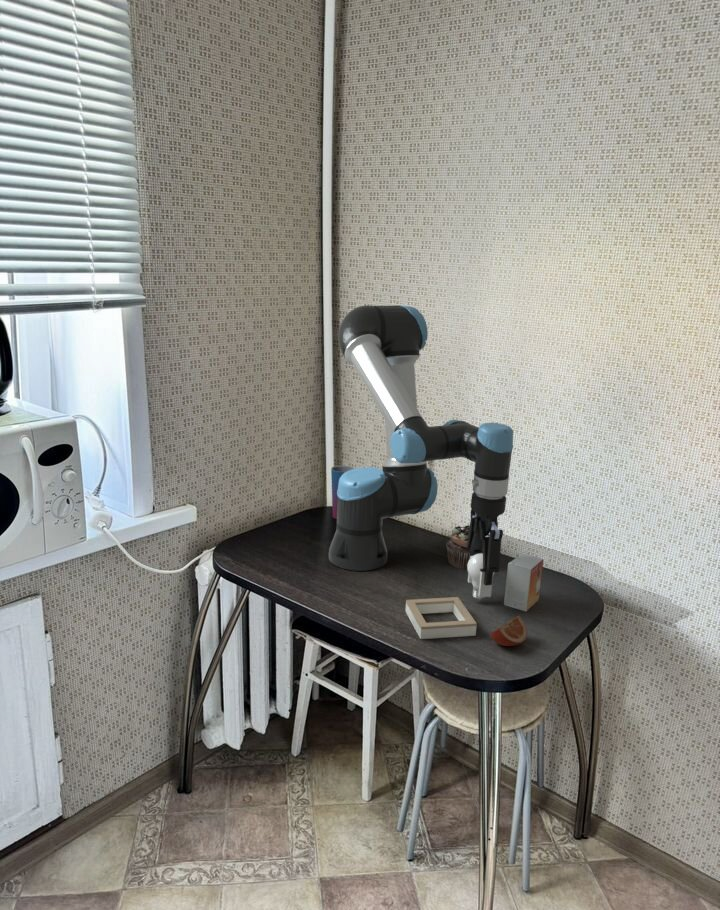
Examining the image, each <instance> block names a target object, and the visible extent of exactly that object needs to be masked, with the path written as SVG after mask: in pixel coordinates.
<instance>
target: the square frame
mask: <svg viewBox="0 0 720 910" xmlns="http://www.w3.org/2000/svg"><path fill="white" fill-rule="evenodd" d="M405 613H406V616H407V617H408V618H409V620H410V622H411V624H412V626H413V628H414V631H416V634H417V635H418V637H419V639H420V640H426V639H428V640H429V639H443V638H457V637H472V636H476V634H477V627H478V626H477V624H478V623H477V622H476V621H475V618H474V617H473V616H472V614H471V613H470V611H468V609H467V608H466V606H465V604H463V602H462V600H461V599H460V598H459V597H458V596H455V597H453V596H451V597H437V598H436V597H435V598H434V597H433V598H432V597H431V598H417V599H415V598H414V599H413V598H412V599H406V600H405ZM439 613H453V614H454V615H453V616H455V617H456V619H457V620H455V621H452V620H451V621H449V620H448V621H436V622H427V621H426V620H425V618H424V617H423V615H424V614H439ZM422 614H423V615H422Z"/></svg>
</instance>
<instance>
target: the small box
mask: <svg viewBox="0 0 720 910" xmlns="http://www.w3.org/2000/svg"><path fill="white" fill-rule="evenodd" d="M544 561H545V560H544V559H543V558H541V557H538V556H534V555H531V554H527V553H523V552H521V553H519V555H518V556H516V557H515V558H513V559H512V560H511V561H509V562H508V564H507V571H506V581H505V589H504V599H503V600H504V601H503V605H504V606H506V607H510V608H513V609H516V610H519V611H523V612H525V613H526V612H527V611H529V609H531V607H532V606H534V605H535V604H536V603H537V602H538V601H539V600H540V592H541V591H540V590H541V586H542V585H541V584H542V576H543V567H544Z"/></svg>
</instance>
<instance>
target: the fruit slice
mask: <svg viewBox="0 0 720 910" xmlns="http://www.w3.org/2000/svg"><path fill="white" fill-rule="evenodd" d="M489 635H490V638H491V639H492V640H493V641H494V642H495V643H496V644H498V645H500V646H503V647H504V646H505V647H509V646H510V647H513V646H518V645H521V644H522V643H524V641H525V640H526V638H527V637H528V630H527V627H526V624H525V622H524V620H523V619H522V617H521V615H518V616H516V617H514V618H512V619H511V620H509V621H508V622H506V623H504V624H503V625H501V626H500V627H498V628H497V629H495V630H494V631H492V633H490V634H489Z"/></svg>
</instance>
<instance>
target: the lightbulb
mask: <svg viewBox="0 0 720 910" xmlns="http://www.w3.org/2000/svg"><path fill="white" fill-rule="evenodd" d="M480 569H483V553H479V554H475V555H473V556H472V557H471V558H470V559H469V561H468V564H467V569H466V570H467V574H468V573H469V575H470V577H471V579H472V583H471V584H472V594H471V596H472V597H473V598H474V599H476V600H481V599H484V598H485V597H479V596H478V593H479V584H480V575H481V571H480ZM495 573H496V572H494V573H493V576H494V575H495Z"/></svg>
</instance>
